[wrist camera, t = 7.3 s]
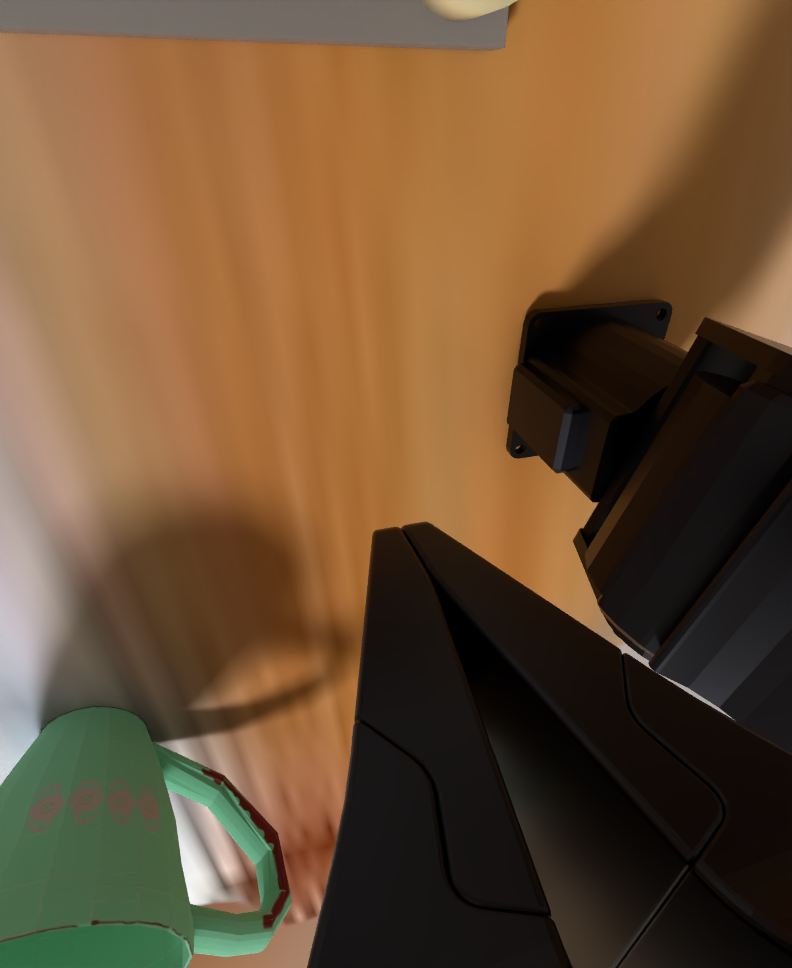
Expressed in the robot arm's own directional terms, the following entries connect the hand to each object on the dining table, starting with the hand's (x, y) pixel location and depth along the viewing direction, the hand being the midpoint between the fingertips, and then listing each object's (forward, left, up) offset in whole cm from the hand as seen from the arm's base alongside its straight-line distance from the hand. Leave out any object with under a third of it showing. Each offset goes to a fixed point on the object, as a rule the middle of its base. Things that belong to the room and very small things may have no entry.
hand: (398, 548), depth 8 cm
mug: (+10, +22, -13) cm, 28 cm away
